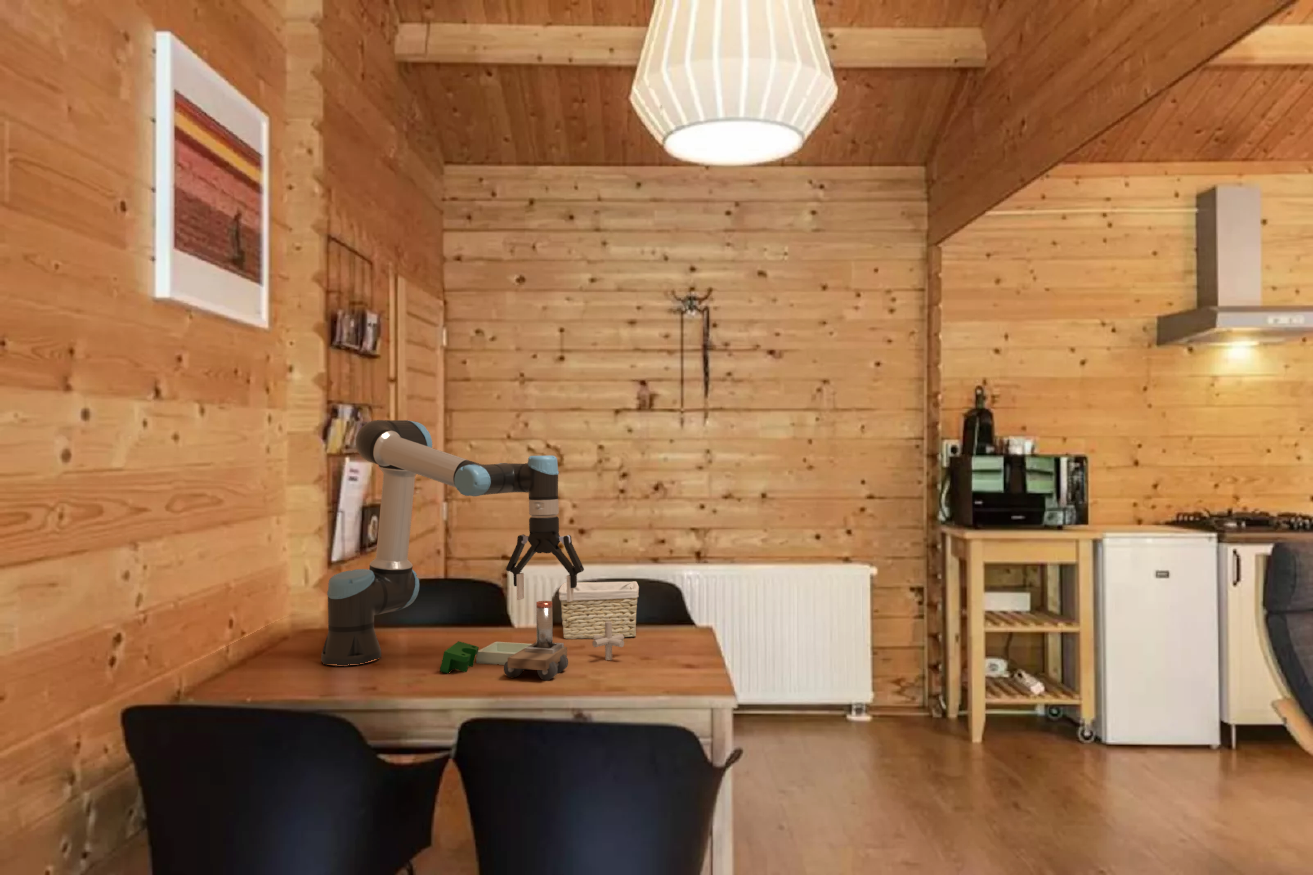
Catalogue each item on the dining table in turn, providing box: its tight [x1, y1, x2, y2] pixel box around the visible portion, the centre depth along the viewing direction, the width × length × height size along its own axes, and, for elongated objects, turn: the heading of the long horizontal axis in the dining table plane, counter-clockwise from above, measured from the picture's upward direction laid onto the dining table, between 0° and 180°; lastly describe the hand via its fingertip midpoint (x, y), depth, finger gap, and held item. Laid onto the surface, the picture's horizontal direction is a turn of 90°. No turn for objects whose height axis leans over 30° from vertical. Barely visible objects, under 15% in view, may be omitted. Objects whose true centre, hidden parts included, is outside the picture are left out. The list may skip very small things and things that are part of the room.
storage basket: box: [558, 580, 640, 640], centre depth 261 cm, size 24×16×15 cm
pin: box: [535, 600, 554, 648], centre depth 218 cm, size 4×4×12 cm
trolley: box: [503, 641, 569, 681], centre depth 215 cm, size 13×14×6 cm
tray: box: [475, 641, 533, 666], centre depth 231 cm, size 12×12×3 cm
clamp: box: [439, 641, 480, 674], centre depth 221 cm, size 12×6×9 cm, turn 169°
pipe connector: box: [592, 621, 625, 661], centre depth 229 cm, size 10×10×10 cm
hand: (545, 600), depth 218 cm, fingers open, 13 cm apart
